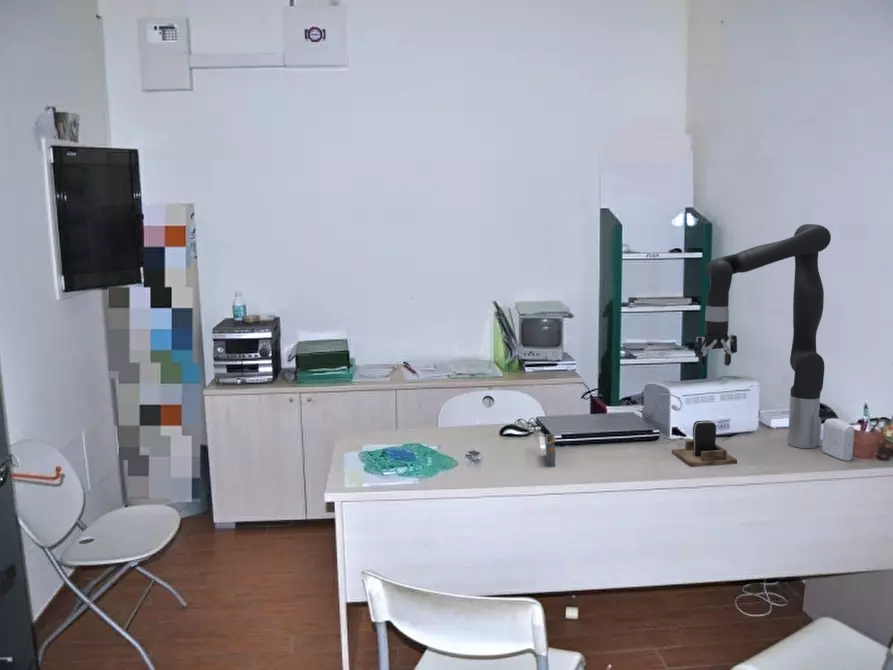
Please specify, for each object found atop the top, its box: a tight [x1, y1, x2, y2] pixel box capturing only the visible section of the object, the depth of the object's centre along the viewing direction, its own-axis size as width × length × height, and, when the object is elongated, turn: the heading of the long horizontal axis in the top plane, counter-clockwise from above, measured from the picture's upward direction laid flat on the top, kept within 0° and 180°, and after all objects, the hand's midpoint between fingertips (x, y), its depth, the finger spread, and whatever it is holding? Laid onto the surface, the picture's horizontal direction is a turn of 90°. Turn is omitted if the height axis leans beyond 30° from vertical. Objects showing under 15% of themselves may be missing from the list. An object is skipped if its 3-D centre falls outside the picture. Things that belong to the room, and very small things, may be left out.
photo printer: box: [821, 417, 855, 462], centre depth 253 cm, size 10×4×12 cm, turn 17°
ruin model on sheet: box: [545, 434, 557, 468], centre depth 255 cm, size 11×3×10 cm, turn 174°
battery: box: [692, 420, 717, 456], centre depth 254 cm, size 7×4×11 cm, turn 90°
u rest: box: [671, 439, 738, 468], centre depth 255 cm, size 16×14×4 cm
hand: (715, 365), depth 263 cm, fingers open, 8 cm apart
